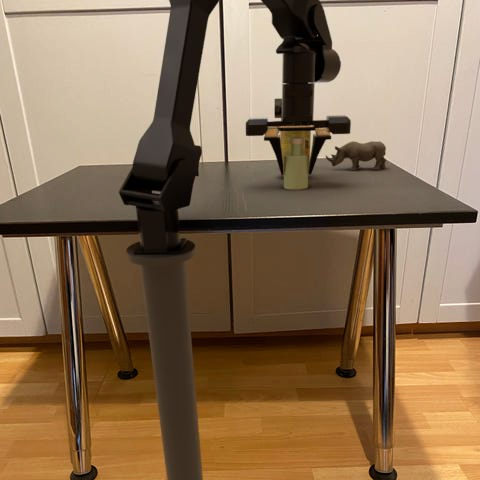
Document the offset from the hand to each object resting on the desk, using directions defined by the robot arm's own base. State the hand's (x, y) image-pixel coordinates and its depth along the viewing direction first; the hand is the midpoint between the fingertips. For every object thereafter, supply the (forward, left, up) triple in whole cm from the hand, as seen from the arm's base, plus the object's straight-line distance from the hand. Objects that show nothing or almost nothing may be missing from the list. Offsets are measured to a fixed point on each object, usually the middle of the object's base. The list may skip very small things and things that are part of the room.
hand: (296, 174), depth 92 cm
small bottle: (0, 0, -2) cm, 2 cm away
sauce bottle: (+11, 0, -3) cm, 11 cm away
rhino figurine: (+20, -14, -3) cm, 25 cm away
